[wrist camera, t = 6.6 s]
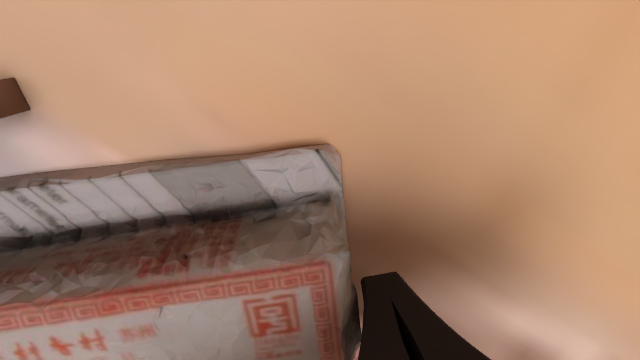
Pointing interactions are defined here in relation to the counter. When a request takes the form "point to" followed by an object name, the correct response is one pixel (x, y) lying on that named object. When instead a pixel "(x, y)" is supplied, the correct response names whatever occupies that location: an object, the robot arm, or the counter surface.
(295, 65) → the counter surface
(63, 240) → the packaged product
